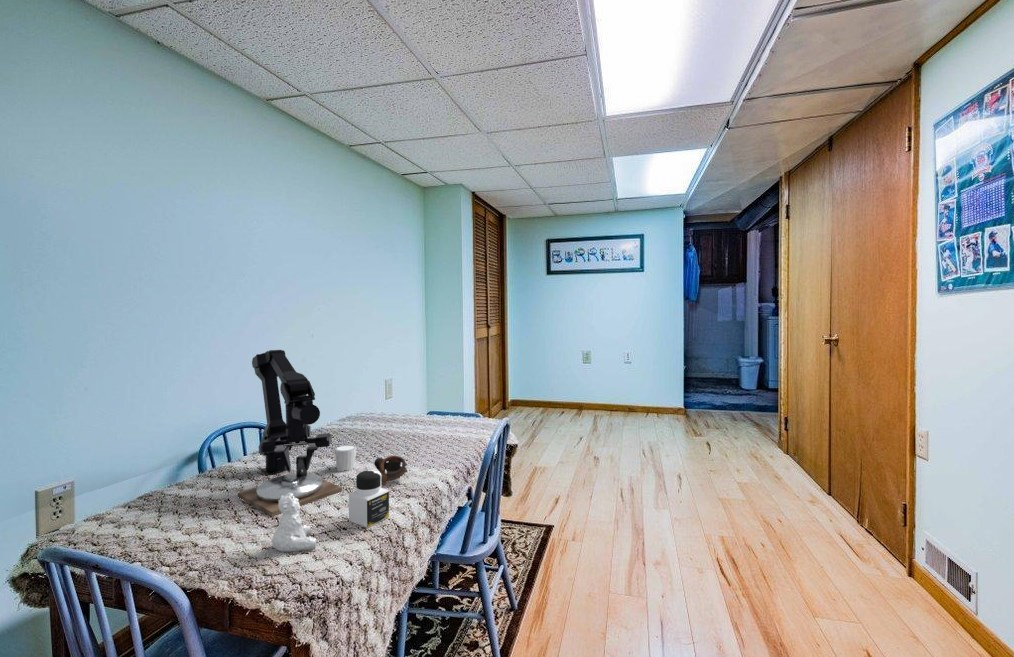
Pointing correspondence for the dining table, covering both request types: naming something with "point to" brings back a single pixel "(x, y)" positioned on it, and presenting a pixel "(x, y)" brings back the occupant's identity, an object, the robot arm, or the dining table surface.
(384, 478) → the pottery mug
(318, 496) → the walnut board
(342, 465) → the shot glass
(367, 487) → the medicine bottle
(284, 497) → the sitting furry creature
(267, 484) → the handwheel
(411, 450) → the dining table surface
